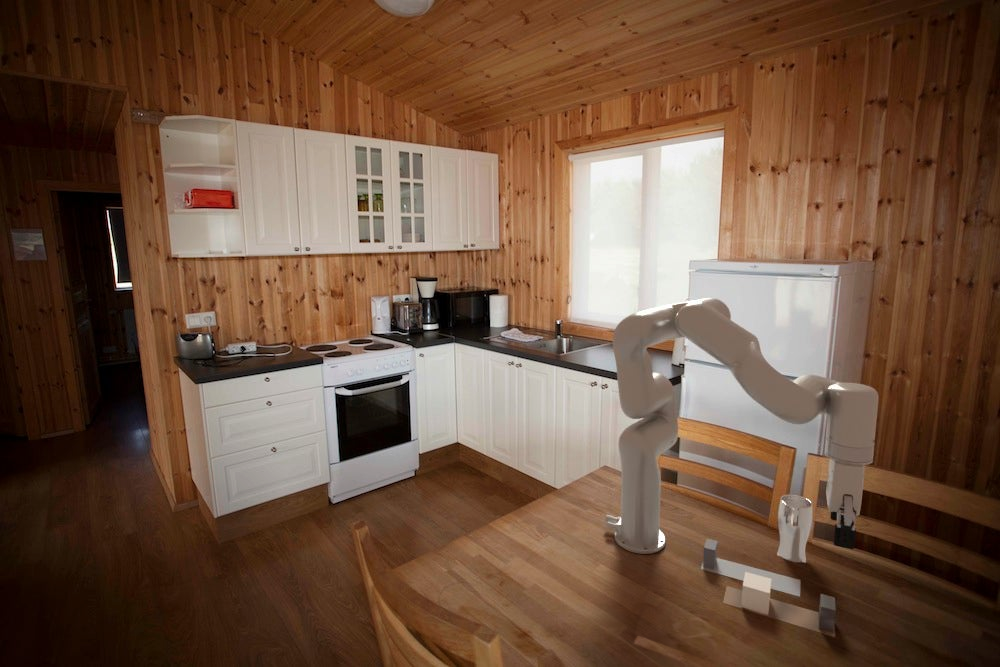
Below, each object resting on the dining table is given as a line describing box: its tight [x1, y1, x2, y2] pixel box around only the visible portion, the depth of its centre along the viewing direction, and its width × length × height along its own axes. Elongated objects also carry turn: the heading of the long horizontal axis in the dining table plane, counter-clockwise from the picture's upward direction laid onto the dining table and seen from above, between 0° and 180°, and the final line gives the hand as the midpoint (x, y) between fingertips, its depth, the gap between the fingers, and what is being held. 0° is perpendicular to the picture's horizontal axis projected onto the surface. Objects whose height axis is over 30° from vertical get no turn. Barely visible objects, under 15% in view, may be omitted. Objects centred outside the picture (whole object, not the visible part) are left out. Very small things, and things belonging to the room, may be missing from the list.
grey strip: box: [700, 538, 801, 597], centre depth 119 cm, size 20×6×6 cm, turn 60°
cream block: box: [741, 572, 772, 615], centre depth 109 cm, size 5×5×5 cm
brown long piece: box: [722, 585, 837, 638], centre depth 108 cm, size 20×6×6 cm, turn 60°
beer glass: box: [776, 494, 813, 563], centre depth 124 cm, size 7×7×15 cm
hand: (841, 533), depth 101 cm, fingers open, 9 cm apart
